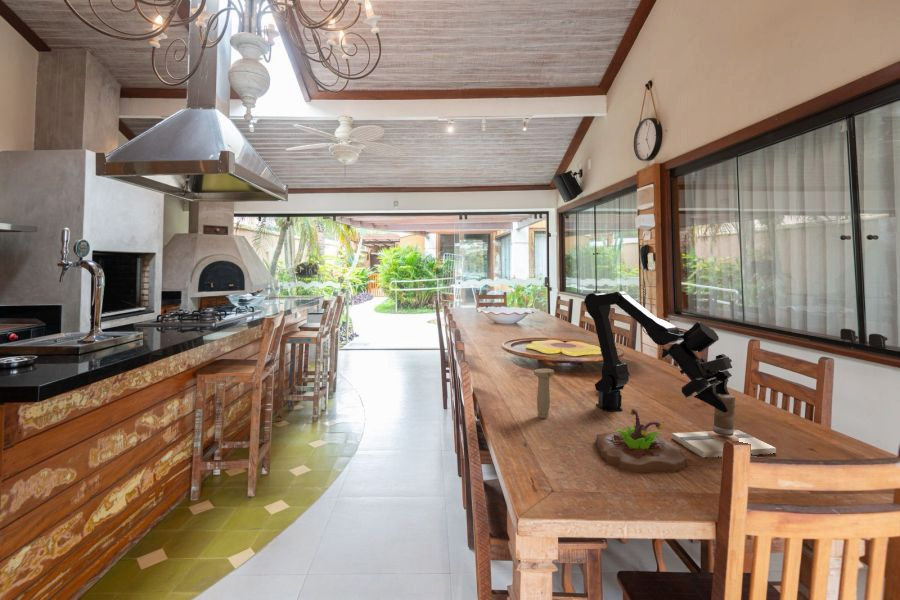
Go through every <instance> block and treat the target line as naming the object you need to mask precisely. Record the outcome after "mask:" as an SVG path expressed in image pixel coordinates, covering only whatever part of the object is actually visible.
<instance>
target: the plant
mask: <svg viewBox="0 0 900 600" xmlns="http://www.w3.org/2000/svg"><path fill="white" fill-rule="evenodd" d="M629 414H630V415H631V416H635V424H634V425H633V424H632V426H631V428H629V427H627V426H625V427H624V429H625V430H623V429H621V428H618V427H616V430H617V431H613V432H603V433H597V434H596V436H595V437H596V439H595V444H596V446H597V447H598V451H599V452H600V458H602V459H604V460H605V461H606V462H607V463H608V464H610V465H614V466H618V467H619V469H620V470H622V471H626V472H629V471H630V473H635V472H636V474H638V473H639V474H643V473H645V474H646V473H652V472H671V473H672V472H673V473H676V472H678V471H681V469H682V470H683V469H684V468H685V467H687V466H688V457H686V456H684V455H683V454H682V451H681V449H680V448H678V447H676V446H675V445H673V444H671V443H670V442H668V441H667V440H666V439H665V438H663V437H660V436H658V435H659V432H658V431H653V432H652V431H651V432H649V433H648V431H647V429H648V428H649V427H650V426H652V425H655V427H656V429H657V430H662V428H663V425H662V424H661V423H660V422H657V421H650V422H648V423H646V424H645V425H644V424H643V423H642V424H641V421H640V417H639V413H638V411H637V410H636V409H633V408H632V409H631V410H630V411H629ZM677 470H678V471H677Z"/></svg>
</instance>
